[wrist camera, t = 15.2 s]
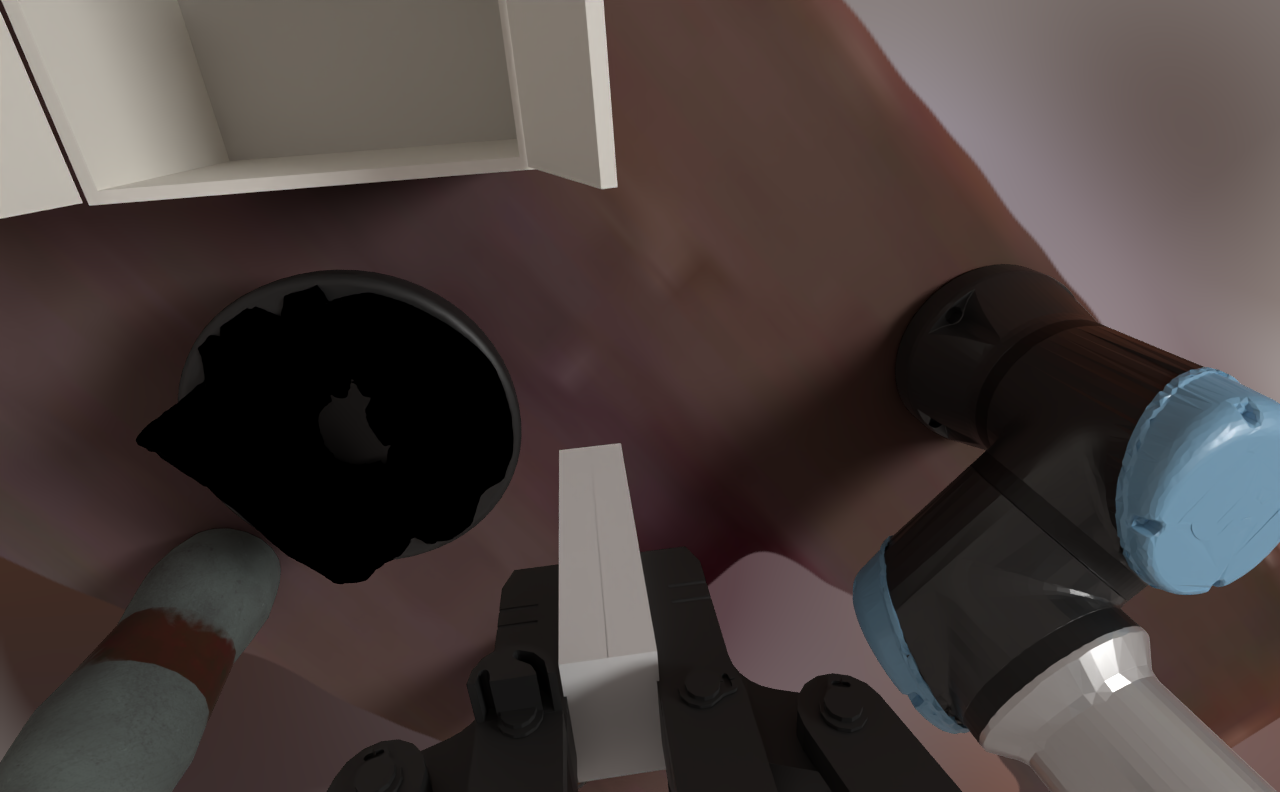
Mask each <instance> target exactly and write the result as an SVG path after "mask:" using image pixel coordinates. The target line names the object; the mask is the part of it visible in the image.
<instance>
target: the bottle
mask: <svg viewBox="0 0 1280 792" xmlns="http://www.w3.org/2000/svg"><path fill="white" fill-rule="evenodd" d="M280 573H281V569H280V564H279V559H278V557H277V556H276V554H275V553H274V551H273V549H272V548H271V547H270V546H269V545H267V544H266V543H265V542H264V541H263V540H261V539H260V538H258V537H256V536H254V535H251V534H249V533H247V532H244V531H239V530H235V529H230V528H226V529H210V530H207V531H203V532H199V533H197V534H196V535H194V536H193V537H191V538H189V539H188V540H186V541H185V542H183V543H182V544H180V545H178V546H177V547H175V548H174V549H172V550H171V551H170V552H169V553H168V554H167V555H166V556H165V557H164V558H163V559H162V560H161V561H159V562H158V563H157V564H156V565H155V566H154V567H153V568H152V569H151V571H150V572H149V573H148V575H147V576H146V577H145V579H144V580H143V582H142V584H141V585H140V587H139V588H138V590H137V592H136V593H135V595H134V597H133V598H132V600H131V602H130V603H129V605H128V607H127V608H126V610H125V612H124V614H123V616H122V618H121V619H120V621H119V623H118V625H117V626H116V627H115V628H114V629H113V631H112V632H111V633H110V634H109V635H108V636H107V637H106V638H105V639H104V640H103V641H102V642H101V643H100V644H99V645H98V647H97V648H96V649H95V650H94V651H93V652H92V653H91V654H90V655H89V656H88V657H87V658H86V659H85V660H84V661H83V663H82V664H81V665H80V666H79V667H78V668H77V669H76V670H75V671H74V672H73V673H72V674H71V675H70V677H68V678H67V680H66V681H64V682H63V683H62V684H61V685H60V686H59V687H58V688H57V689H56V690H55V691H54V692H53V693H52V694H51V695H50V696H49V697H48V698H47V699H46V700H45V701H44V702H43V703H42V704H41V705H40V706H39V707H38V708H37V709H36V710H35V711H34V713H33V714H32V716H31V717H30V718H29V720H28V721H27V723H26V724H25V726H24V727H23V728H22V730H21V732H20V733H19V735H18V736H17V738H16V739H15V741H14V742H13V744H12V745H11V747H10V748H9V750H8V751H7V753H6V755H5V756H4V758H3V759H2V761H1V762H0V792H172V791H173V789H174V788H175V786H176V785H177V783H178V782H179V780H180V779H181V777H182V776H183V774H184V773H185V771H186V770H187V769H188V767H189V766H190V764H191V763H192V761H193V758H194V755H195V753H196V750H197V748H198V745H199V743H200V740H201V738H202V735H203V732H204V730H205V727H206V724H207V722H208V720H209V718H210V716H211V713H212V711H213V709H214V706H215V704H216V702H217V700H218V698H219V695H220V693H221V691H222V688H223V686H224V684H225V682H226V679H227V677H228V675H229V673H230V670H231V668H232V666H233V664H234V663H235V661H236V660H237V659H238V657H239V656H240V655H241V654H242V652H243V651H244V650H245V648H246V647H247V646H248V645H249V643H250V642H251V641H252V639H253V638H254V637H255V635H256V634H257V632H258V631H259V630H260V628H261V627H262V625H263V624H264V623H265V621H266V620H267V619H268V617H269V614H270V611H271V608H272V605H273V603H274V600H275V597H276V594H277V590H278V586H279V583H280Z"/></svg>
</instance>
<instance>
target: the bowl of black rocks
mask: <svg viewBox="0 0 1280 792" xmlns="http://www.w3.org/2000/svg"><path fill="white" fill-rule="evenodd" d="M136 442H137V444H138V445H139V446H142V447H144V448H147V450H148V451H151V452H156V453H157V454H158V455H159V456H160V457H161V458H162V459H164V460H165V461H167V462H168V463H170V464H171V465H173V466H174V467H176V468H177V469H179V470H180V471H181V472H183V473H185V474H186V475H188V476H189V477H191V478H193V479H194V480H196V481H197V482H199V483H200V484H202V485H203V486H207V487H208V488H209V489H210V490H211V491H212V492H213V493H214V494H215V495H216V496H217V497H218V498H219V499H220V500H221V501H222V502H223V503H224V504H225V505H226V506H227V507H228V508H229V509H231V510H232V511H233V512H234V513H235V514H236V515H238V516H239V517H240V518H241V519H243V520H244V521H246V522H247V523H248V524H250V525H251V526H253V527H254V528H255V529H257V530H258V531H260V532H261V533H262V534H263V535H264V536H265V537H266V538H267V539H268V540H269V541H270V542H271V543H273V544H274V545H275V546H276V547H278V548H279V549H280V550H281V551H283V552H284V553H285V554H286V555H288V556H289V557H291V558H293V559H295V560H296V561H298V562H300V563H303V564H304V565H306V566H308V567H310V568H311V569H313V570H315V571H317V572H318V573H320V574H322V575H323V576H325V577H326V578H327V579H329V580H331V581H332V582H333V583H337V584H344V583H357V582H362V581H366V580H367V579H368V578H369V577H370V576H371V575H372V574H373V573H374V571H375V570H376V569H378V568H380V567H381V566H382V565H384V563H387V562H389V561H391V560H393V559H400V558H405V557H410V556H414V555H418V554H422V553H425V552H428V551H431V550H434V549H436V548H439V547H441V546H443V545H445V544H447V543H450V542H452V541H453V540H455V539H457V538H459V537H460V536H462V535H464V534H465V533H466V532H468V531H469V530H471V529H472V528H473V527H475V526H476V525H477V524H478V523H479V522H480V521H481V520H483V519H484V518H485V517H486V516H487V514H488V513H489V512H490V511H491V510H492V509H493V508H494V507H495V505H496V504H497V503H498V501H499V500H500V499H501V497H502V495H503V494H504V492H505V490H506V489H507V487H508V485H509V483H510V481H511V479H512V476H513V474H514V471H515V468H516V465H517V462H518V457H519V452H520V445H521V418H520V410H519V404H518V400H517V396H516V391H515V388H514V385H513V382H512V380H511V377H510V374H509V372H508V370H507V368H506V366H505V364H504V362H503V360H502V358H501V356H500V355H499V353H498V352H497V350H496V348H495V347H494V345H493V344H492V343H491V341H490V340H489V339H488V337H487V336H486V335H485V333H484V332H483V331H482V330H481V329H480V328H479V327H478V326H477V325H476V324H475V322H474V321H472V320H471V319H470V318H469V317H468V316H467V315H466V314H465V313H464V312H462V311H461V310H460V309H458V308H457V307H456V306H454V305H453V304H452V303H450V302H449V301H447V300H446V299H444V298H442V297H441V296H439V295H437V294H436V293H434V292H432V291H430V290H428V289H426V288H424V287H422V286H419V285H417V284H414V283H412V282H409V281H407V280H403V279H400V278H397V277H393V276H390V275H385V274H380V273H375V272H367V271H359V270H325V271H316V272H310V273H304V274H298V275H294V276H291V277H287V278H283V279H280V280H277V281H274V282H272V283H269V284H267V285H264V286H261V287H259V288H257V289H255V290H253V291H251V292H249V293H247V294H245V295H243V296H242V297H240V298H239V299H237V300H236V301H234V302H233V303H231V304H230V305H228V306H227V307H226V308H224V309H223V310H222V311H221V312H220V313H219V314H217V315H216V316H215V317H214V318H213V319H212V321H211V322H210V323H209V324H208V325H207V326H206V327H205V328H204V330H203V331H202V333H201V334H200V335H199V337H198V338H197V340H196V341H195V343H194V345H193V347H192V349H191V351H190V353H189V355H188V357H187V360H186V362H185V365H184V368H183V371H182V375H181V380H180V384H179V394H178V403H177V404H175V405H174V406H173V407H171V408H170V409H169V410H167V411H165V412H164V413H163V414H162V415H161V416H160V417H159V418H157V419H155V420H154V421H152V422H151V423H150V424H149V425H147V426H146V427H145V428H144V429H143V430H142V431H141V433H140V434H139V435H138V437H137V439H136Z"/></svg>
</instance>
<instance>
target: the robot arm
mask: <svg viewBox="0 0 1280 792" xmlns="http://www.w3.org/2000/svg"><path fill="white" fill-rule="evenodd" d="M895 375H896V384H897V388H898V392H899V395H900V397H901V399H902V401H903V403H904V405H905V406H906V408H907V409H908V410H909V411H910V412H911V414H913V415H914V416H915V417H916V418H917V419H918V420H919V421H920V422H921V423H923V424H924V425H925V426H926V427H927V428H929V429H930V430H932V431H933V432H935V433H937V434H938V435H940V436H943V437H945V438H948V439H951V440H954V441H958V442H961V443H964V444H967V445H971V446H974V447H977V448H981V449H984V450H986V451H985V452H984V453H983V454H982V455H981V456H980V457H979V458H978V459H977V460H976V461H975V462H974V463H972V464H971V465H970V466H969V467H968V468H967V469H966V470H965V471H963V472H962V473H961V474H960V475H959V476H958V477H957V478H956V479H955V480H954V481H953V482H951V483H950V484H949V485H948V486H947V487H946V488H945V489H944V490H943V491H942V492H941V493H939V494H938V495H937V496H936V497H935V498H934V499H933V500H932V501H931V502H930V503H928V504H927V505H926V506H925V507H924V508H923V509H922V510H921V511H920V512H919V513H918V514H916V515H915V516H914V517H913V518H912V519H911V520H910V521H909V522H908V523H907V524H906V525H904V526H903V527H902V528H901V529H900V530H899V531H898V532H897V533H896V534H895V535H893V536H889V537H888V538H887V539H886V540H885V541H884V542H883V544H882V545H881V548H880V550H879V551H878V552H877V553H876V554H875V555H874V556H873V557H872V558H871V559H870V561H869V562H868V563H867V564H866V565H865V566H864V567H863V568H862V569H861V570H860V571H859V572H858V574H857V576H856V578H855V580H854V584H853V605H854V609H855V613H856V616H857V619H858V622H859V624H860V627H861V629H862V631H863V634H864V636H865V638H866V640H867V642H868V644H869V646H870V648H871V649H872V651H873V653H874V655H875V656H876V658H877V660H878V661H879V663H880V664H881V666H882V667H883V669H884V670H885V672H886V673H887V675H888V676H889V678H890V679H891V680H892V682H893V683H894V684H895V686H896V687H897V688H898V689H899V691H900V692H901V693H902V694H906V695H908V697H909V699H910V700H911V702H912V704H913V706H914V707H915V709H916V710H917V711H918V712H919V713H920V714H921V715H922V716H923V717H924V718H925V719H926V720H928V721H929V722H930V723H932V724H933V725H934V726H936V727H937V728H939V729H941V730H942V731H946V732H949V733H953V734H957V733H967V732H969V731H970V732H971V733H972V735H973V736H974V737H975V738H976V740H977V741H978V742H979V744H980V745H981V746H982V747H983V748H984V749H985V751H987V752H990V753H994V754H997V755H1001V756H1005V757H1009V758H1012V759H1016V760H1020V761H1022V762H1024V763H1025V764H1027V765H1029V766H1030V767H1031V768H1032V769H1033V770H1034V772H1035V773H1036V774H1037V775H1038V777H1039V778H1040V779H1041V780H1042V781H1043V783H1044V784H1045V785H1046V786H1047V788H1048V789H1049V790H1050V791H1051V792H1277V791H1276V790H1275V789H1274V788H1273V787H1271V786H1270V785H1269V784H1268V783H1267V782H1266V781H1265V780H1264V779H1263V778H1262V777H1261V776H1260V775H1259V774H1258V773H1257V772H1255V771H1254V770H1253V769H1252V768H1251V767H1250V766H1249V765H1248V764H1247V763H1246V762H1245V761H1244V760H1243V759H1241V758H1240V757H1239V756H1238V755H1237V754H1236V753H1235V752H1234V751H1233V750H1232V749H1231V748H1230V747H1229V746H1228V745H1227V744H1226V743H1224V742H1223V741H1222V740H1221V739H1220V738H1219V737H1218V736H1217V735H1216V734H1215V733H1214V732H1213V731H1212V730H1211V729H1209V728H1208V727H1207V726H1206V725H1205V724H1204V723H1203V722H1202V721H1201V720H1200V719H1199V718H1198V717H1197V716H1196V715H1195V714H1193V713H1192V712H1191V711H1190V710H1189V709H1188V708H1187V707H1186V706H1185V705H1184V704H1183V703H1182V702H1181V701H1180V700H1178V699H1177V698H1176V697H1175V696H1174V695H1173V694H1172V693H1171V692H1170V691H1169V690H1168V689H1167V688H1166V687H1165V686H1164V685H1162V684H1161V683H1160V682H1159V681H1158V679H1157V678H1156V676H1155V675H1154V673H1153V671H1152V666H1151V653H1150V639H1149V635H1148V634H1147V633H1146V631H1145V630H1144V629H1143V628H1141V627H1140V626H1139V625H1138V624H1137V623H1136V622H1134V621H1133V620H1132V619H1131V618H1130V617H1129V616H1128V615H1127V614H1125V613H1124V612H1123V611H1122V610H1121V607H1122V606H1123V605H1124V604H1125V603H1126V602H1127V601H1129V600H1130V599H1131V598H1132V597H1133V596H1135V595H1136V594H1137V593H1139V592H1140V591H1141V590H1142V589H1144V588H1145V587H1146V586H1148V585H1150V586H1152V587H1154V588H1157V589H1162V590H1165V591H1167V592H1170V593H1174V594H1180V595H1191V594H1194V595H1195V594H1201V593H1205V592H1208V591H1209V589H1210V588H1211V586H1212V585H1213V586H1217V587H1222V586H1225V585H1228V584H1230V583H1231V582H1233V581H1235V580H1237V579H1238V578H1240V577H1242V576H1243V575H1244V574H1246V573H1247V572H1249V571H1250V570H1251V569H1253V568H1254V567H1255V566H1256V565H1258V564H1259V563H1260V562H1261V561H1262V560H1263V559H1264V558H1265V557H1266V556H1267V555H1268V554H1269V553H1270V552H1271V551H1272V550H1273V549H1274V548H1275V547H1276V545H1277V544H1278V543H1279V542H1280V404H1279V403H1278V402H1276V401H1275V400H1273V399H1270V398H1269V397H1266V396H1264V395H1262V394H1260V393H1258V392H1256V391H1254V390H1252V389H1250V388H1248V387H1246V386H1244V385H1242V384H1240V383H1239V382H1238V381H1237V380H1236V379H1235V378H1234V377H1232V376H1231V375H1229V374H1226V373H1224V372H1222V371H1220V370H1216V369H1212V368H1208V367H1203V366H1201V365H1198V364H1196V363H1193V362H1191V361H1189V360H1186V359H1184V358H1181V357H1179V356H1176V355H1174V354H1172V353H1169V352H1167V351H1164V350H1162V349H1160V348H1157V347H1155V346H1152V345H1150V344H1147V343H1145V342H1143V341H1140V340H1138V339H1135V338H1133V337H1130V336H1128V335H1126V334H1123V333H1121V332H1119V331H1116V330H1114V329H1111V328H1109V327H1106V326H1104V325H1102V324H1100V323H1098V322H1097V321H1096V320H1095V319H1094V318H1093V317H1092V316H1091V315H1090V314H1089V313H1088V311H1087V310H1086V309H1085V308H1084V307H1083V306H1082V305H1081V304H1080V303H1079V302H1078V301H1077V300H1076V299H1075V298H1074V296H1073V295H1072V293H1071V292H1070V291H1069V290H1068V289H1067V288H1066V287H1065V286H1064V285H1063V284H1061V283H1060V282H1058V281H1057V280H1055V279H1054V278H1052V277H1050V276H1048V275H1045V274H1042V273H1040V272H1037V271H1034V270H1032V269H1029V268H1026V267H1023V266H1018V265H1010V264H1001V265H992V266H986V267H982V268H979V269H975V270H973V271H970V272H968V273H965V274H963V275H961V276H959V277H957V278H955V279H954V280H952V281H950V282H949V283H947V284H946V285H945V286H943V287H942V288H941V289H939V290H938V291H937V292H936V293H935V294H933V295H932V296H931V297H930V298H929V299H928V300H927V301H926V302H925V303H924V304H923V306H922V307H921V308H920V309H919V310H918V312H917V313H916V314H915V316H914V317H913V319H912V320H911V322H910V324H909V325H908V327H907V329H906V331H905V333H904V335H903V338H902V340H901V343H900V346H899V349H898V353H897V359H896V367H895ZM467 689H468V693H469V696H470V700H471V704H472V708H473V712H474V716H475V720H474V721H473V722H472V723H471V724H470V725H469V726H468V727H466V728H465V729H464V730H463V731H462V732H460V733H458V734H456V735H455V736H453V737H451V738H449V739H447V740H445V741H443V742H440V743H438V744H436V745H434V746H431V747H429V748H427V749H425V750H422V751H420V750H418V748H417V747H416V746H415V745H414V744H412V743H409V742H406V741H402V740H391V741H381V742H379V743H377V744H374V745H372V746H370V747H367V748H365V749H363V750H362V751H361V752H359V753H358V754H357V755H355V756H354V757H353V758H352V759H350V760H349V761H348V762H347V763H346V764H345V765H344V766H343V768H342V769H341V770H340V772H339V773H338V774H337V776H336V777H335V778H334V780H333V781H332V784H331V785H330V787H329V788H328V790H327V792H578V782H586V781H592V780H599V779H605V778H612V777H618V776H625V775H631V774H637V773H644V772H650V771H657V770H663V769H666V772H667V779H668V788H669V792H962V791H961V790H960V789H959V787H958V786H957V785H956V784H955V783H954V782H953V780H952V779H951V778H950V777H949V776H948V775H947V773H946V772H945V771H944V770H943V769H942V768H941V766H940V765H939V764H938V763H937V762H936V760H935V759H934V758H933V757H932V756H931V755H930V754H929V752H928V751H927V750H926V749H925V747H924V746H923V745H922V744H921V743H920V742H919V740H918V739H917V738H916V737H915V736H914V735H913V734H912V732H911V731H910V730H909V729H908V728H907V726H906V725H905V724H904V723H903V722H902V721H901V719H900V718H899V717H898V716H897V715H896V713H895V712H894V711H893V710H892V709H891V708H890V707H889V705H888V704H887V703H886V702H885V701H884V700H883V698H882V697H881V696H880V695H879V694H878V693H877V692H876V691H875V690H873V689H872V688H871V687H870V686H869V685H868V684H866V683H865V682H862V681H860V680H858V679H856V678H853V677H851V676H848V675H840V674H833V673H832V674H827V675H821V676H817V677H815V678H813V679H812V680H810V681H809V682H807V683H806V684H805V685H804V687H803V688H802V690H801V692H800V693H798V692H791V691H784V690H777V689H772V688H768V687H764V686H761V685H758V684H756V683H754V682H752V681H750V680H748V679H747V678H746V677H744V676H743V675H742V674H740V673H739V671H738V670H737V669H736V668H735V667H734V665H733V664H732V662H731V660H730V658H729V656H728V653H727V649H726V646H725V643H724V639H723V637H722V633H721V630H720V626H719V623H718V620H717V616H716V613H715V610H714V606H713V603H712V600H711V598H710V593H709V590H708V586H707V584H706V580H705V577H704V573H703V570H702V567H701V563H700V561H699V560H698V559H697V558H696V557H695V556H694V555H693V554H692V553H691V552H690V551H689V550H688V549H687V548H686V547H677V548H669V549H662V550H654V551H646V552H640V551H639V545H638V539H637V534H636V528H635V522H634V517H633V511H632V505H631V500H630V494H629V488H628V482H627V477H626V471H625V465H624V460H623V454H622V448H621V443H618V444H610V445H601V446H593V447H584V448H575V449H567V450H559V564H558V565H551V566H543V567H535V568H528V569H520V570H514V572H513V573H512V575H511V576H510V578H509V579H508V581H507V582H506V584H505V585H504V587H503V588H502V593H501V602H500V613H499V618H498V630H497V635H496V643H495V651H494V652H492V653H491V654H489V655H487V656H486V657H484V658H483V659H482V660H481V661H480V662H479V663H478V664H477V666H476V667H475V668H474V669H473V670H472V672H471V674H470V677H469V680H468V682H467ZM577 776H578V779H577Z"/></svg>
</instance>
